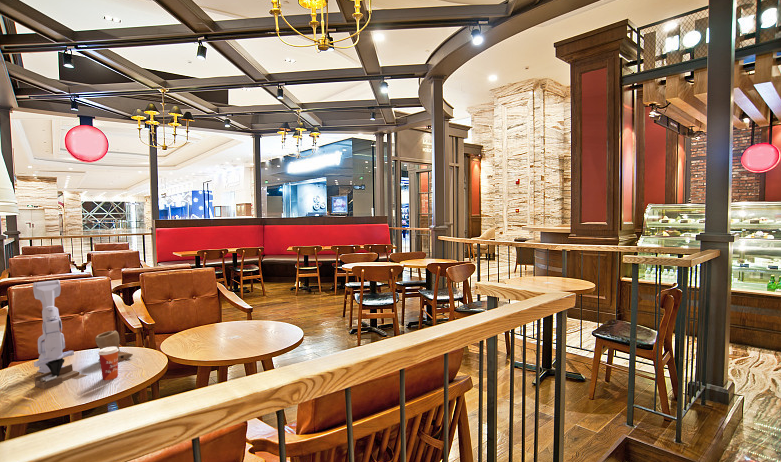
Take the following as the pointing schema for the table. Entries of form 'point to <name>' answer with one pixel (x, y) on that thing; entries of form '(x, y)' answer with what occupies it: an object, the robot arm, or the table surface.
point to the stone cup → (111, 343)
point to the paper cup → (109, 362)
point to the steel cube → (48, 378)
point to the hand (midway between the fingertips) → (56, 376)
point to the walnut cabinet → (58, 377)
